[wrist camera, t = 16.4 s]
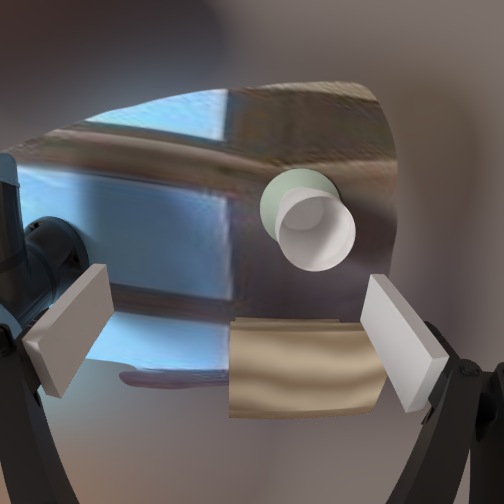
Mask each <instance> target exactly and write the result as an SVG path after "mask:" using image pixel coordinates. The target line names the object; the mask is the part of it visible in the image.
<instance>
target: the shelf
mask: <svg viewBox="0 0 504 504" xmlns="http://www.w3.org/2000/svg"><path fill="white" fill-rule="evenodd" d="M387 375H388V374H387V372H386V370H385V368H384V366H383V364H382V362H381V360H380V358H379V356H378V354H377V352H376V350H375V348H374V346H373V344H372V343H371V341H370V339H369V337H368V335H367V333H366V331H365V329H364V327H363V325H362V323H341V322H340V320H339V319H280V318H247V317H235V321H231V323H230V359H229V418H248V419H293V418H294V419H295V418H318V417H333V416H345V415H356V414H364V413H371V412H372V410H373V407H374V406H375V403H376V401H377V399H378V397H379V394H380V392H381V389H382V387H383V385H384V383H385V380H386V378H387Z"/></svg>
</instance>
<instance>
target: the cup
mask: <svg viewBox="0 0 504 504" xmlns="http://www.w3.org/2000/svg"><path fill="white" fill-rule="evenodd" d="M275 233H276V238H277V241H278V243H279V245H280V247H281V250H282V252H283V254H284V255H285V257H286V258H287V259H288V260H289V261H290V262H291V263H292V264H293V265H295V266H296V267H298V268H301V269H303V270H307V271H323V270H327V269H330V268H332V267H334V266H336V265H337V264H339V263H340V262H341V261H342V260H343V259H344V258H345V257H346V256H347V255H348V253H349V252H350V250H351V248H352V246H353V243H354V240H355V224H354V220H353V217H352V215H351V214H350V212H349V211H348V209H347V208H346V207H345V206H344V205H343V203H342V202H341V201H340V200H339V199H338V198H337V197H335V196H334V195H332V194H330V193H328V192H326V191H322V190H317V189H312V188H306V187H298V188H294V189H292V190H290V191H288V192H287V193H286V194H285V195H284V196H283V198H282V199H281V202H280V205H279V209H278V213H277V217H276V222H275Z"/></svg>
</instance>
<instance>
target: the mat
mask: <svg viewBox="0 0 504 504" xmlns="http://www.w3.org/2000/svg"><path fill="white" fill-rule="evenodd" d="M298 187H306V188H312V189H317V190H322V191H326V192H328V193H330V194H332V195H334V196H335V197H337V198H338V199H339V200H340V197H339V194H338V192H337V190H336V188H335V186H334V185H333V183H332V182H331V181H330V180H329V179H328V178H327V177H325V176H324V175H322V174H321V173H319V172H316V171H314V170H310V169H304V168H297V169H291V170H288V171H285V172H283V173H281V174H279V175H278V176H276V177H275V178H274V179H273V180H272V181H271V182H270V183H269V184H268V186H267V187H266V189H265V191H264V192H263V195H262V198H261V202H260V215H261V220H262V223H263V225H264V228H265V229H266V231H267V232H268V234H269V235H270V236H271V237H272V238H273V239H274V240H276V241H277V238H276V233H275V222H276V217H277V213H278V209H279V205H280V202H281V199H282V198H283V196H284V195H285V194H286V193H287V192H288V191H290V190H292V189H294V188H298ZM277 242H278V241H277Z"/></svg>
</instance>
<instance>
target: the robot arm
mask: <svg viewBox="0 0 504 504" xmlns="http://www.w3.org/2000/svg"><path fill="white" fill-rule="evenodd" d="M19 188H20V184H19V183H18V174H17V164H16V160H15V158H14V157H13V156H12V155H10V154H8V153H0V462H1V466H2V471H3V475H4V479H5V483H6V487H7V490H8V494H9V498H10V501H11V504H79V501H78V500H77V497H76V495H75V493H74V491H73V489H72V487H71V484H70V482H69V480H68V478H67V475H66V473H65V470H64V468H63V465H62V463H61V460H60V458H59V455H58V452H57V450H56V447H55V444H54V441H53V438H52V435H51V432H50V429H49V426H48V423H47V419H46V416H45V413H44V409H43V406H42V402H41V398H40V396H39V393H38V391H37V389H38V388H39V386H40V385H42V387H43V389H44V391H45V393H46V395H50V396H54V397H57V398H62V396H63V394H64V393H65V391H66V389H67V387H68V386H69V384H70V382H71V380H72V379H73V377H74V375H75V374H76V372H77V370H78V368H79V367H80V365H81V364H82V362H83V360H84V359H85V357H86V355H87V354H88V352H89V350H90V349H91V347H92V346H93V344H94V342H95V341H96V339H97V338H98V336H99V334H100V333H101V331H102V330H103V328H104V326H105V325H106V323H107V322H108V320H109V319H110V317H111V316H112V314H113V313H114V307H113V301H112V296H111V290H110V284H109V278H108V271H107V265H106V264H93V265H91V266H90V267H89V263H88V256H87V252H86V249H85V246H84V244H83V242H82V240H81V238H80V237H79V235H78V234H77V233H76V231H75V230H74V229H73V228H72V227H71V226H70V225H69V224H67V223H66V222H64V221H63V220H61V219H59V218H56V217H50V216H46V217H41V218H39V219H37V220H35V221H33V222H32V223H30V224H29V225H28V226H27V227H26V228H25V229H23V222H22V213H21V204H20V193H19ZM51 304H53V305H52V306H51V307H50V308H49V306H50V305H51ZM360 321H361V323H362V325H363V327H364V329H365V331H366V333H367V335H368V337H369V339H370V341H371V343H372V344H373V346H374V348H375V350H376V352H377V354H378V356H379V358H380V360H381V362H382V364H383V366H384V368H385V370H386V372H387V374H388V376H389V378H390V380H391V382H392V384H393V387H394V389H395V391H396V393H397V395H398V397H399V399H400V401H401V403H402V405H403V408H404V410H405V412H406V413H408V412H413V411H418V410H422V409H423V407H424V405H425V403H426V402H427V400H429V402H430V403H431V405H432V406H431V408H430V410H429V412H428V413H427V415H426V416H425V418H424V420H423V421H422V423H421V424H422V425H423V427H422V429H421V432H420V434H419V437H418V439H417V441H416V444H415V446H414V448H413V451H412V453H411V455H410V457H409V460H408V461H407V464H406V466H405V468H404V470H403V472H402V474H401V476H400V478H399V480H398V482H397V484H396V486H395V488H394V490H393V491H392V493H391V495H390V497H389V499H388V501H387V502H386V504H453V502H454V500H455V497H456V494H457V491H458V488H459V485H460V481H461V478H462V475H463V472H464V468H465V464H466V461H467V457H468V453H469V449H470V493H469V504H504V362H502V363H499V364H498V365H497V368H496V369H495V371H494V372H483V371H482V370H481V369H480V367H479V366H478V365H477V364H476V363H475V362H473V361H471V360H467V359H460V358H459V356H458V355H457V354H456V352H455V351H454V350H453V349H452V347H451V346H450V345H449V343H448V342H446V339H445V338H444V337H443V336H441V333H440V332H439V331H438V329H437V328H436V327H435V326H433V325H432V324H430V323H429V322H427V321H424V322H423V321H422V320H421V318H420V317H419V316H418V315H417V314H416V312H415V311H414V310H413V308H412V307H411V306H410V305H409V304H408V302H407V301H406V300H405V299H404V297H403V296H402V295H401V294H400V293H399V291H398V290H397V289H396V288H395V287H394V285H393V284H392V283H391V282H390V281H389V279H388V278H387V277H386V276H385V275H384V274H371V275H370V280H369V284H368V289H367V293H366V298H365V302H364V306H363V311H362V315H361V319H360Z"/></svg>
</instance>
